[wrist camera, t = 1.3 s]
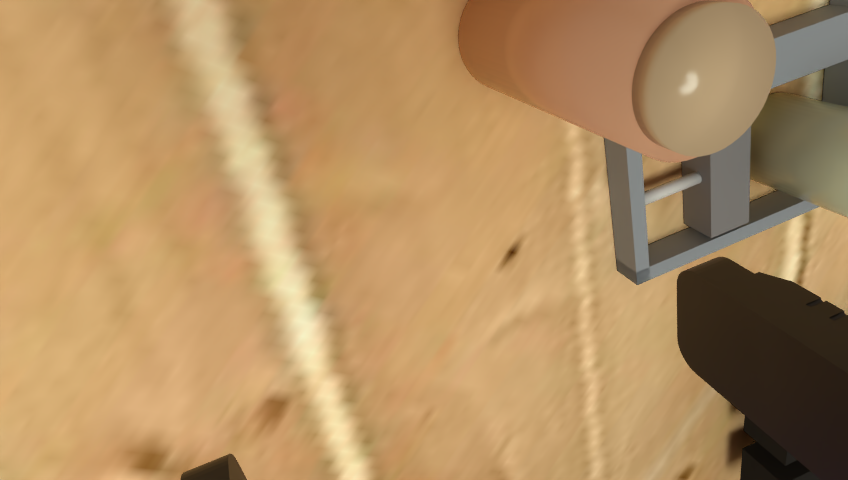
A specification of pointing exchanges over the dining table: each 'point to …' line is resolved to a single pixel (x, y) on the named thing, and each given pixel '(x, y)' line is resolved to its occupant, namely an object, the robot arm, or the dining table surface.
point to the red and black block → (769, 459)
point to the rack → (724, 164)
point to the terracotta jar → (629, 67)
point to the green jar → (802, 150)
